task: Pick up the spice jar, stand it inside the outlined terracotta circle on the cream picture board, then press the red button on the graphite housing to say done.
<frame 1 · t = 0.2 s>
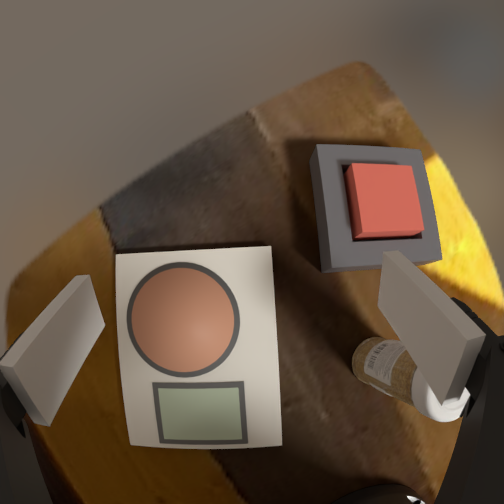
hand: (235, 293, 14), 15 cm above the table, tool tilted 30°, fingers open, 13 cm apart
done button: (382, 202, 27), point 3 cm above the table, slide at 0.0 cm
picture board: (196, 353, 27), on the table
spice jar: (372, 359, 27), on the table
button housing: (369, 212, 30), on the table
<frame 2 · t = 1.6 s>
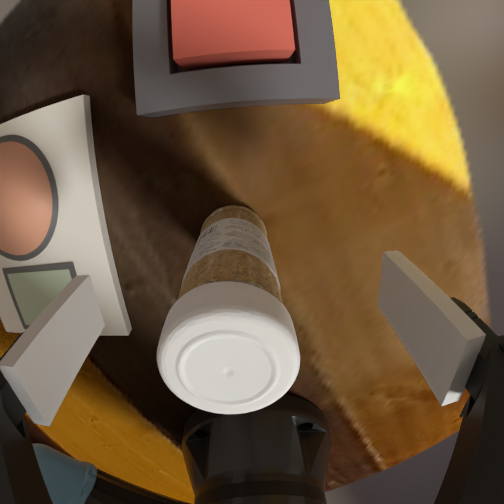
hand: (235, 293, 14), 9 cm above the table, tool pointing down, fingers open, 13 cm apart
done button: (230, 11, 14), point 3 cm above the table, slide at 0.0 cm
picture board: (32, 231, 21), on the table
spice jar: (233, 234, 22), on the table
button housing: (232, 29, 17), on the table
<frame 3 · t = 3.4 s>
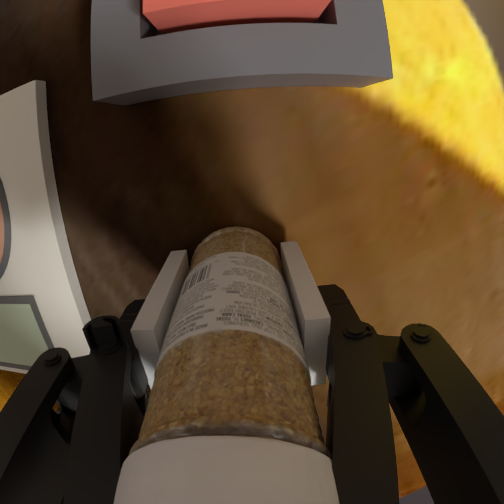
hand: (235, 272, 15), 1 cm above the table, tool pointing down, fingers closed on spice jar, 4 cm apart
spice jar: (236, 265, 16), on the table, touching gripper
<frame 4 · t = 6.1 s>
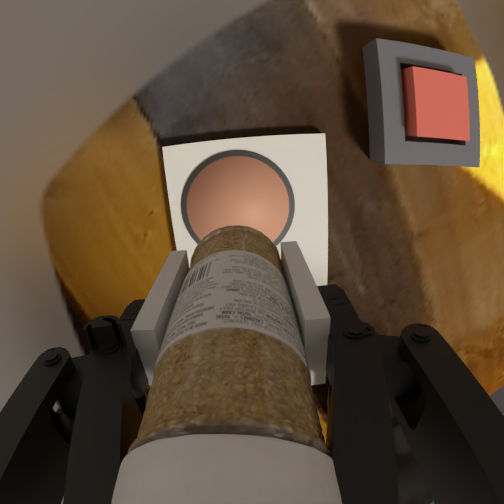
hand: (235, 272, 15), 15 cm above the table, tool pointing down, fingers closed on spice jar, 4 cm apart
done button: (434, 104, 23), point 3 cm above the table, slide at 0.0 cm
picture board: (251, 234, 30), on the table
spice jar: (236, 263, 16), point 14 cm above the table, touching gripper
button housing: (417, 105, 26), on the table
when the fingers open (3 cm above the table, at t = 8.8 s): spice jar drops 1 cm, resting on picture board.
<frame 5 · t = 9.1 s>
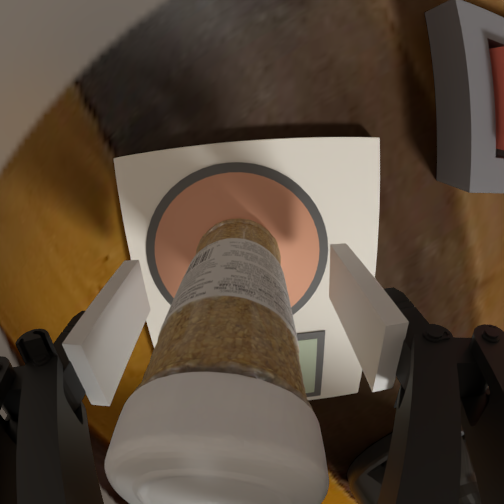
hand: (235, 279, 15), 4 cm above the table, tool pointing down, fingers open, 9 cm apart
picture board: (258, 293, 19), on the table
spice jar: (238, 255, 17), point 1 cm above the table, touching picture board
button housing: (494, 104, 15), on the table
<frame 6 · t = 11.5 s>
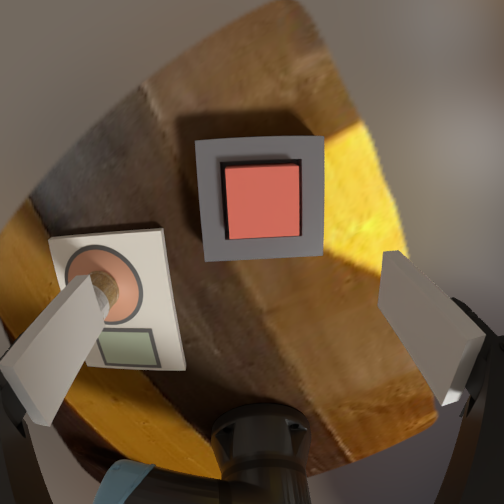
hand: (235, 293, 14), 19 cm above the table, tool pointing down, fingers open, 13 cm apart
done button: (262, 199, 28), point 3 cm above the table, slide at 0.0 cm
picture board: (118, 305, 35), on the table
spice jar: (103, 286, 33), point 1 cm above the table, touching picture board
button housing: (260, 192, 31), on the table
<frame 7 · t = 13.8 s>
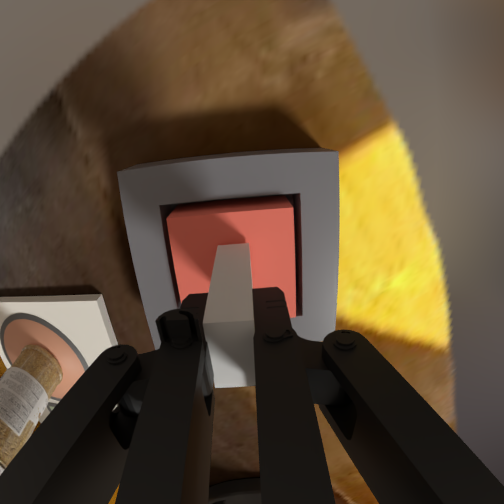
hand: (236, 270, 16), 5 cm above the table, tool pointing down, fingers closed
done button: (235, 259, 17), point 3 cm above the table, slide at 0.5 cm, touching gripper
picture board: (67, 380, 24), on the table
spice jar: (44, 361, 22), point 1 cm above the table, touching picture board
button housing: (236, 242, 20), on the table
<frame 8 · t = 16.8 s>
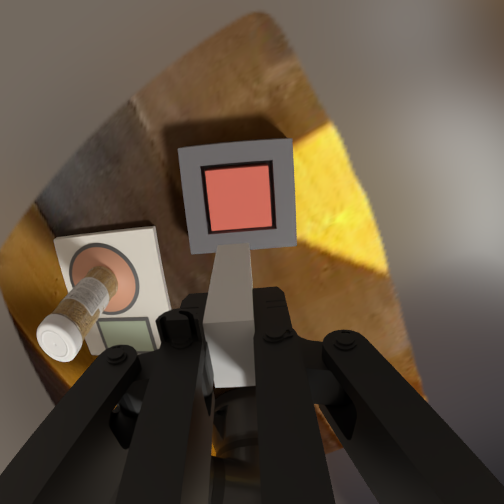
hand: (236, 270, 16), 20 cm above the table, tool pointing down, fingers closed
done button: (239, 195, 32), point 3 cm above the table, slide at 0.8 cm
picture board: (117, 297, 39), on the table
spice jar: (103, 280, 37), point 1 cm above the table, touching picture board
button housing: (239, 191, 35), on the table
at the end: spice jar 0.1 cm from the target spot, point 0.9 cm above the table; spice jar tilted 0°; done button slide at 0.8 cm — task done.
